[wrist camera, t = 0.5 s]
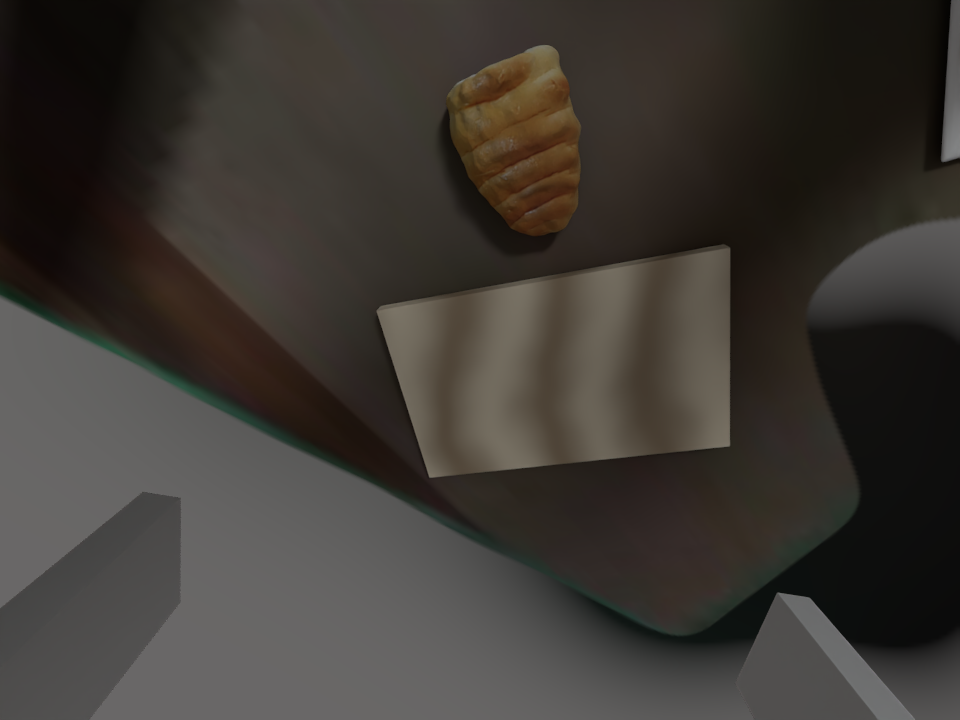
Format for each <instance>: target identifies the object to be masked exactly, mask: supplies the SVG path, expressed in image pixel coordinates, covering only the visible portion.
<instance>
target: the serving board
mask: <svg viewBox="0 0 960 720" xmlns="http://www.w3.org/2000/svg"><path fill="white" fill-rule="evenodd" d="M377 314H378V317H379V320H380V324H381V327H382V330H383V333H384V336H385V339H386V343H387V346H388V349H389V352H390V355H391V358H392V361H393V365H394V368H395V371H396V374H397V377H398V380H399V383H400V387H401V390H402V393H403V396H404V399H405V402H406V405H407V409H408V412H409V415H410V418H411V421H412V424H413V427H414V431H415V434H416V437H417V440H418V443H419V446H420V449H421V453H422V456H423V459H424V462H425V465H426V468H427V472H428V475H429V478H432V477H442V476H451V475H461V474H470V473H480V472H490V471H499V470H509V469H518V468H528V467H537V466H547V465H556V464H566V463H575V462H585V461H594V460H604V459H614V458H623V457H633V456H642V455H652V454H661V453H671V452H680V451H690V450H699V449H709V448H718V447H728V446H730V247H728V246H726V245H725V244H722V245H717V246H711V247H706V248H700V249H694V250H689V251H683V252H678V253H672V254H667V255H661V256H656V257H650V258H644V259H639V260H633V261H628V262H622V263H617V264H611V265H606V266H600V267H594V268H589V269H583V270H578V271H572V272H567V273H561V274H556V275H550V276H544V277H539V278H533V279H528V280H522V281H517V282H511V283H506V284H500V285H494V286H489V287H483V288H478V289H472V290H467V291H461V292H456V293H450V294H444V295H439V296H433V297H428V298H422V299H417V300H411V301H406V302H400V303H394V304H389V305H383V306H380V307H379V308H378V310H377Z"/></svg>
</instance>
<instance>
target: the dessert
mask: <svg viewBox="0 0 960 720" xmlns="http://www.w3.org/2000/svg"><path fill="white" fill-rule="evenodd" d="M957 158H960V0H951V11H950V27H949V42H948V58H947V73H946V89H945V104H944V120H943V135H942V151H941V161H942V162H946V161H950V160H954V159H957Z"/></svg>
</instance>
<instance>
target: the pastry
mask: <svg viewBox="0 0 960 720" xmlns="http://www.w3.org/2000/svg"><path fill="white" fill-rule="evenodd" d="M569 93H570V89H569V84H568V81H567V79H566V77H565V76H564V74H563V73H562V70H561V68H560V65H559V54H558V52H557V50H555V49H554V48H553V47H551V46H549V45H541V46H536V47H534V48H531V49H528V50H526V51H525V52H523V53H522V54H518V55H516V56H514V57H512V58H509V59H505V60H502V61H500V62H498V63H495V64H492V65H489V66H487V67H486V68H484V69H482V70H481V71H479V72H478V73H477V74H475V75H472V76H470V77H468V78H466V79H464V80H461V81H460V82H458V83H457V84H456V85H455V86H454V87H453V89H452V90H451V91H450V93H449V94H448V96H447V100H446V105H447V108H448V111H449V115H450V132H451V138H452V141H453V144H454V146H455V147H456V149H457V151H458V153H459V155H460V156H461V160H462V162H463V163H464V165H465V168H466V171H467V174H468V177H469V178H470V180H472V181H473V182H474V184H475V185H476V187H477V189H478V190H479V192H480V193H481V194H482V195H483V196H484V197H485V198H486V199H487V201H488V202H489V204H490V205H491V206H492V207H493V208H494V209H495V210H496V211H497V212H498V213H499V214H500V215H501V216H502V217H503V218H504V220H505V221H506V222H507V224H508V226H509V227H510V228H511V229H513V230H516V231H518V232H520V233H524V234H527V235H530V236H540V235H546V234H548V233H552V232H558V231H560V230H563V229H564V228H565V227H566V226H567V224H568V222H569V220H570V219H571V217H572V215H573V213H574V212H575V210H576V208H577V206H578V185H579V181H580V172H581V165H580V156H579V151H578V140H579V136H580V130H581V126H580V123H579V121H578V119H577V118H576V116H575V114H574V111H573V107H572V104H571V100H570V97H569Z"/></svg>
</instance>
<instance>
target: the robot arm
mask: <svg viewBox="0 0 960 720" xmlns="http://www.w3.org/2000/svg"><path fill="white" fill-rule="evenodd" d="M180 500H181V498H178V497H172V496H165V495H159V494H152V493H147V492H142V493H141V494H140V495H139V496H137V497H136V498H135V499H134V500H133V501H131V502H130V503H129V504H128V505H127V506H125V507H124V508H123V509H122V510H120V511H119V512H118V513H117V514H115V515H114V516H113V517H112V518H111V519H109V520H108V521H107V522H106V523H104V524H103V525H102V526H101V527H99V528H98V529H97V530H96V531H95V532H94V533H92V534H91V535H90V536H88V537H87V538H86V539H85V540H83V541H82V542H81V543H80V544H79V545H77V546H76V547H75V548H74V549H72V550H71V551H70V552H69V553H68V554H66V555H65V556H64V557H63V558H61V559H60V560H59V561H58V562H57V563H55V564H54V565H53V566H52V567H50V568H49V569H48V570H47V571H45V572H44V573H43V574H42V575H41V576H39V577H38V578H37V579H36V580H34V582H32V583H31V584H30V585H28V586H27V587H26V588H25V589H23V590H22V591H21V592H20V593H19V594H17V595H16V596H15V597H14V598H12V599H11V600H10V601H9V602H8V603H6V604H5V605H4V606H3V607H1V608H0V720H89V719H90V718H91V717H92V716H93V714H94V713H95V712H96V710H97V709H98V708H99V707H100V705H101V704H102V703H103V701H104V700H105V699H106V698H107V696H108V695H109V694H110V692H111V691H112V690H113V688H114V687H115V686H116V685H117V683H118V682H119V681H120V679H121V678H122V677H123V676H124V674H125V673H126V672H127V670H128V669H129V668H130V667H131V665H132V664H133V663H134V661H135V660H136V659H137V658H138V656H139V655H140V654H141V652H142V651H143V650H144V649H145V647H146V646H147V645H148V643H149V642H150V641H151V640H152V638H153V637H154V636H155V634H156V633H157V632H158V630H159V629H160V628H161V627H162V625H163V624H164V623H165V622H166V620H167V619H168V618H169V616H170V615H171V614H172V613H173V611H174V610H175V609H176V607H177V606H178V605H179V603H180V538H181V537H180V536H181V530H180V529H181V528H180V527H181V526H180V525H181V519H180V518H181V507H180V506H181V505H180V504H181V501H180ZM735 685H736V687H737V688H738V690H739V692H740V694H741V696H742V697H743V699H744V701H745V703H746V705H747V707H748V708H749V710H750V712H751V714H752V716H753V718H754V719H755V720H915V719H914V717H913V716H912V715H911V714H910V713H909V712H908V711H907V710H906V708H905V707H904V706H903V705H902V704H901V703H900V701H899V700H898V699H897V698H896V697H895V696H894V694H893V693H892V692H891V691H890V690H889V689H888V688H887V687H886V685H885V684H884V683H883V682H882V681H881V680H880V678H879V677H878V676H877V675H876V674H875V673H874V671H873V670H872V669H871V668H870V667H869V666H868V665H867V663H866V662H865V661H864V660H863V659H862V658H861V656H860V655H859V654H858V653H857V652H856V651H855V650H854V648H853V647H852V646H851V645H850V644H849V643H848V641H847V640H846V639H845V638H844V637H843V636H842V635H841V633H840V632H839V631H838V630H837V629H836V628H835V627H834V625H833V624H832V623H831V622H830V621H829V620H828V618H827V617H826V616H825V615H824V614H823V613H822V612H821V610H820V609H819V608H818V607H817V606H816V605H815V603H814V602H813V601H812V600H811V599H810V598H808V597H802V596H795V595H789V594H783V593H777V594H776V596H775V599H774V601H773V603H772V605H771V607H770V610H769V612H768V614H767V616H766V618H765V620H764V622H763V625H762V627H761V629H760V631H759V633H758V635H757V638H756V640H755V642H754V644H753V646H752V648H751V650H750V652H749V655H748V657H747V659H746V661H745V663H744V666H743V668H742V670H741V672H740V674H739V676H738V678H737V680H736V683H735Z"/></svg>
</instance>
